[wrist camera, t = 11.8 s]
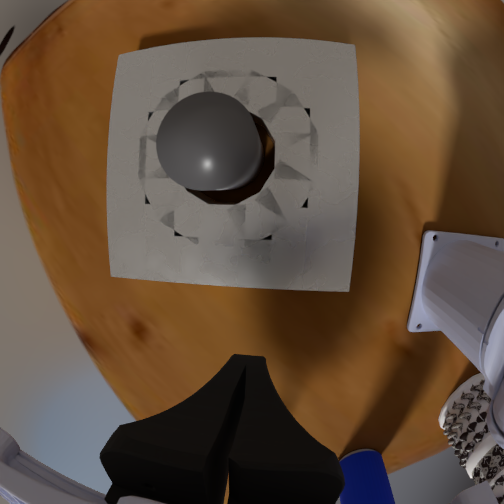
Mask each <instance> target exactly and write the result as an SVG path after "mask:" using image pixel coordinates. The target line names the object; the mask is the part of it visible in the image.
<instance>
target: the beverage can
mask: <svg viewBox="0 0 504 504" xmlns="http://www.w3.org/2000/svg"><path fill="white" fill-rule="evenodd" d="M339 463H340V465H341V468H342V471H343V474H344V478H345V486H344V489H343V491H342V493H341V495H340V502H341V504H395V501H394V498H393V494H392V490H391V487H390V483H389V480H388V476H387V473H386V469H385V466H384V462H383V459H382V456H381V454H380V453H379V452H377V451H375V450H372V449H360V450H356V451H353V452H350V453H349V454H347V455H345V456H344V457H343V458H342V459H341V460H340V461H339Z"/></svg>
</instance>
